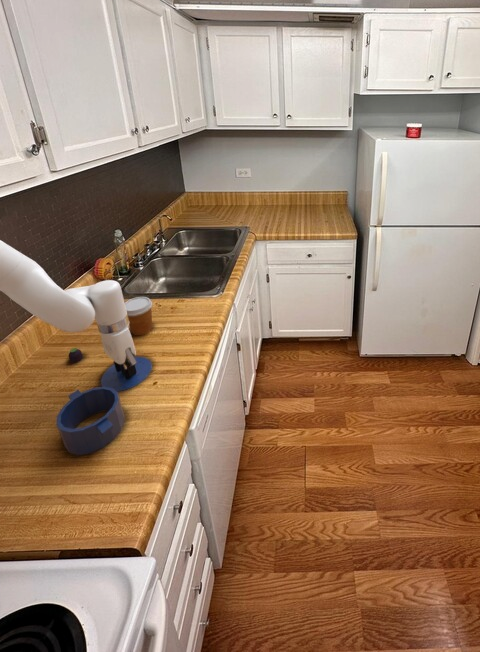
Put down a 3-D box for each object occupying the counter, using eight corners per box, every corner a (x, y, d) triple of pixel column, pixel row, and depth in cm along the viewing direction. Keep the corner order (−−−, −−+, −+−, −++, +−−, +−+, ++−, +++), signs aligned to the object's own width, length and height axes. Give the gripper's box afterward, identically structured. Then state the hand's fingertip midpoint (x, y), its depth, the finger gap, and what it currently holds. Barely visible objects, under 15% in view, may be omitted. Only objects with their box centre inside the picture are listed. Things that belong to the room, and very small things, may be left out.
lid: (116, 402, 92) (111, 385, 90) (92, 380, 99) (87, 364, 97) (161, 371, 102) (158, 355, 100) (137, 353, 109) (133, 338, 107)
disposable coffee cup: (122, 335, 118) (114, 307, 113) (145, 320, 126) (139, 293, 121) (140, 343, 114) (133, 314, 109) (163, 327, 122) (157, 300, 117)
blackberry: (73, 367, 104) (69, 355, 102) (69, 362, 105) (65, 350, 104) (85, 360, 106) (82, 348, 105) (80, 356, 108) (77, 344, 106)
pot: (85, 475, 74) (76, 449, 71) (52, 432, 83) (43, 407, 80) (140, 431, 84) (134, 407, 81) (105, 398, 93) (98, 374, 90)
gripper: (85, 318, 95) (99, 368, 102) (114, 341, 86) (128, 394, 93) (112, 306, 101) (124, 353, 107) (142, 326, 92) (154, 376, 99)
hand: (126, 372), depth 100 cm, fingers open, 4 cm apart
